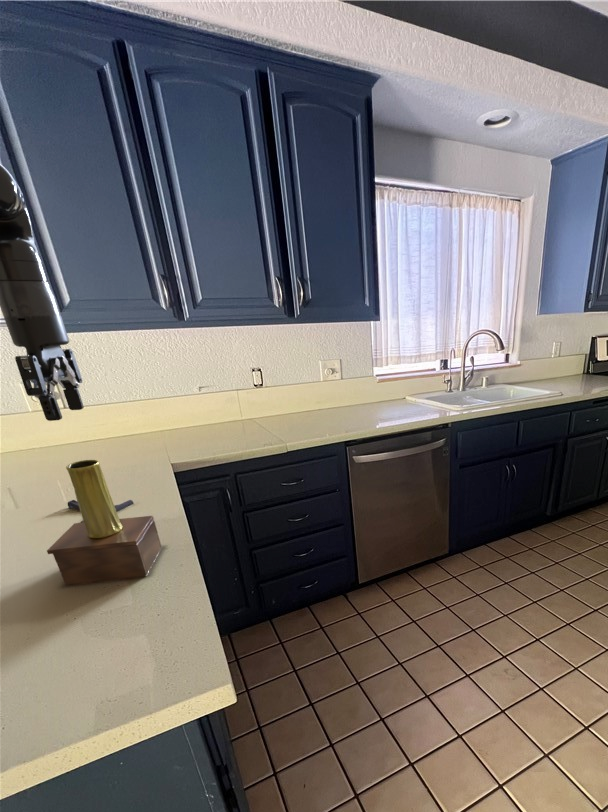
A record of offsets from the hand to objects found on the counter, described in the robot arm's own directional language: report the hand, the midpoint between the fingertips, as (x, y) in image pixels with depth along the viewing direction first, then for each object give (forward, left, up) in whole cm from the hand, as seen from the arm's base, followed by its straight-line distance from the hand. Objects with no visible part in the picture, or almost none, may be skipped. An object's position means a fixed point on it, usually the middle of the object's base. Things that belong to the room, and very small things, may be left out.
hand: (66, 414), depth 76 cm
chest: (0, 0, -32) cm, 32 cm away
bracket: (-17, +32, -32) cm, 49 cm away
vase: (0, 0, -24) cm, 24 cm away
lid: (0, 0, -24) cm, 24 cm away
